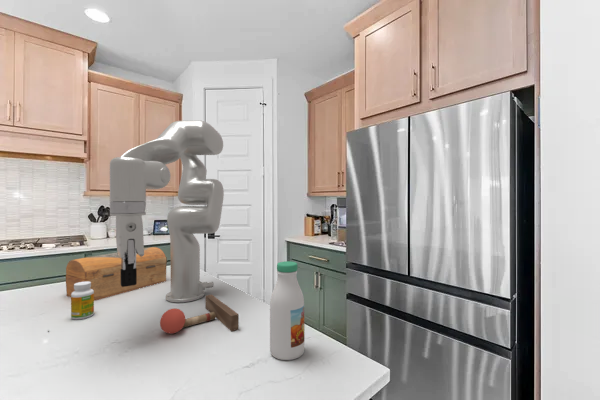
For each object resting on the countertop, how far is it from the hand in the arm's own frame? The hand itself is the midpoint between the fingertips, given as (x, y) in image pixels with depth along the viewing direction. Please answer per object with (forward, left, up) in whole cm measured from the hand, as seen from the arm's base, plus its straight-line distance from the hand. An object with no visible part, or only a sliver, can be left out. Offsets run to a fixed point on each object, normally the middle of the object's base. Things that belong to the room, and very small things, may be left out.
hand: (128, 285), depth 72 cm
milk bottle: (-28, +27, -14) cm, 41 cm away
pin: (-12, 0, -12) cm, 17 cm away
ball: (-10, +2, -10) cm, 14 cm away
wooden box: (-2, -51, -14) cm, 53 cm away
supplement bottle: (+9, -25, -14) cm, 30 cm away
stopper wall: (-23, 0, -13) cm, 27 cm away
